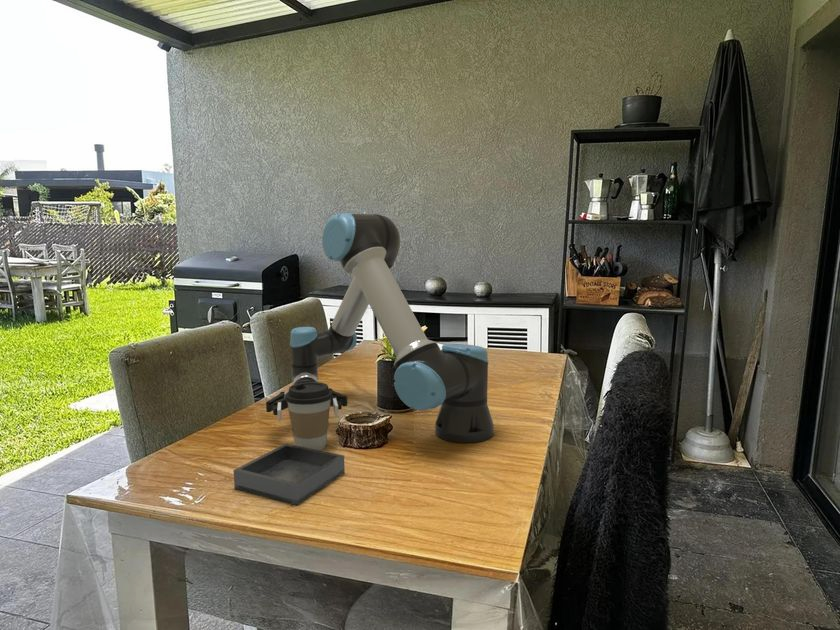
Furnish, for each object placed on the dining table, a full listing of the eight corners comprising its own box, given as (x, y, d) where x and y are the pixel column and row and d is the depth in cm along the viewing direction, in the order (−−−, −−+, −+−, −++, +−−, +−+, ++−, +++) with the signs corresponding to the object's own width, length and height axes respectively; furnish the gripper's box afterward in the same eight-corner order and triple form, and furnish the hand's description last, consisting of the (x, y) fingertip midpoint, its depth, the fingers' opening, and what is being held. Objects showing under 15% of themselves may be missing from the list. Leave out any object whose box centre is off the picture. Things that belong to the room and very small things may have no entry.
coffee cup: (293, 437, 141) (291, 380, 139) (338, 438, 141) (336, 380, 139) (281, 455, 130) (278, 393, 128) (329, 456, 130) (327, 393, 127)
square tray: (344, 473, 120) (344, 455, 120) (296, 505, 106) (296, 485, 106) (286, 460, 127) (285, 443, 127) (234, 488, 113) (233, 470, 113)
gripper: (351, 399, 158) (360, 424, 137) (260, 406, 152) (255, 432, 132) (350, 373, 157) (359, 394, 136) (258, 379, 151) (253, 402, 131)
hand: (308, 413), depth 134 cm, fingers open, 13 cm apart
